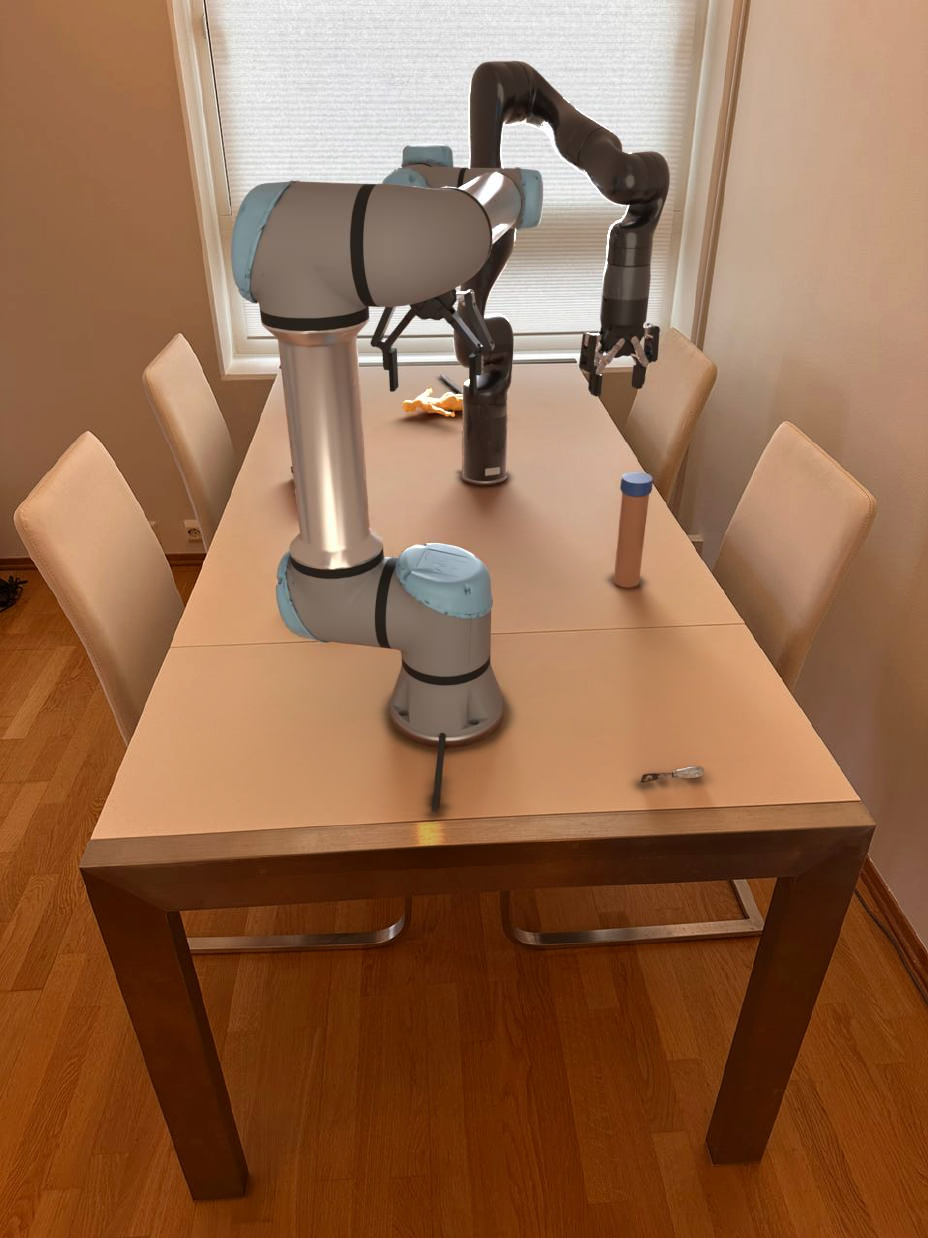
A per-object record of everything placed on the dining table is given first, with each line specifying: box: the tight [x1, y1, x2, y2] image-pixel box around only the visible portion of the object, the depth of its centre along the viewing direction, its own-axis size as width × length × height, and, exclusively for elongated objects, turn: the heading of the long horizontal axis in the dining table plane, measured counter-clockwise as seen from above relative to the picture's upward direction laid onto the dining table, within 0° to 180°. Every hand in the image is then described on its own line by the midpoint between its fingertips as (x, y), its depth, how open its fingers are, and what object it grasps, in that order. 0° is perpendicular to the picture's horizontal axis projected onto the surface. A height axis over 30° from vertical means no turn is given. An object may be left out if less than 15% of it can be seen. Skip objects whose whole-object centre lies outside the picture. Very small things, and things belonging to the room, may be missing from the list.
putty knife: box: [640, 765, 705, 784], centre depth 109 cm, size 1×8×2 cm, turn 103°
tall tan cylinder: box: [613, 491, 650, 589], centre depth 146 cm, size 4×4×18 cm
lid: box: [619, 471, 654, 497], centre depth 142 cm, size 5×5×2 cm
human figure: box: [402, 385, 462, 418], centre depth 225 cm, size 20×20×4 cm
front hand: (433, 391), depth 149 cm, fingers open, 13 cm apart
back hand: (616, 391), depth 152 cm, fingers open, 8 cm apart
